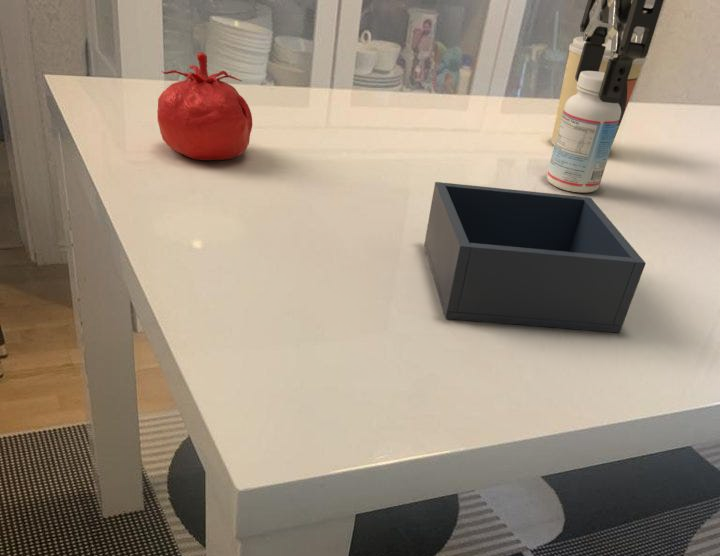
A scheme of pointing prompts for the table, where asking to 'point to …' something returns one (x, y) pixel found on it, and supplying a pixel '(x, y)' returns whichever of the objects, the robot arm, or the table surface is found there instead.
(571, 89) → the coffee cup
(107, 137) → the table surface
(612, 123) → the pill bottle
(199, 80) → the red tomato
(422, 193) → the table surface
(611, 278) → the dark grey open box
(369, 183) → the table surface
